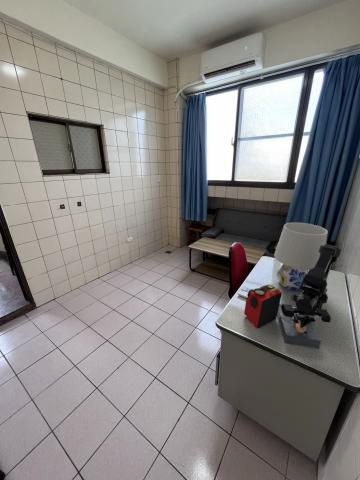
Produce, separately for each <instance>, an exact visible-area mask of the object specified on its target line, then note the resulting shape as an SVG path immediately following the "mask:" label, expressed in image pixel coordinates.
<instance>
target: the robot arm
mask: <svg viewBox="0 0 360 480" xmlns="http://www.w3.org/2000/svg"><path fill="white" fill-rule="evenodd" d="M342 252H343V250H342V249H341V247H339V246H335V245H331V244H328V243H326V244H325V245H324V246H322V245H321V246H320V249H319V253H320V256H319V259H318V261H317V263H316V265H315V267H314V268H312V269H310V270H308V273H307V274H305V276H304V278H303V281H302V283H301V286H300V288H299V289H300V290H299V291H302V293H300V295H298V294H296V293H292V294H291V297H290V298H291V301H292V302H295V306H296V307H297V308H298V309H297V308H292V304H287V303H281V304H282V306H281V309H282V312H283V315H284V316H286V317H293V316H294V313H295V315H296V318H297V319H298V320H299V325H300V328H303V327H304V326H306V325H307V324H309V323H311V322H312V323H313V322H314V323H315V322H316V319H315V317H317V318H320V320H321V322H323V323H331V321H332V316H331V315H330V313H329V311H328V310H327V308H326V309H324V308H323V305H325V304H328V299H329V296H328V294H327V292H328V288H327V286H328V283H327V282H328V278H329V274H330V271H331V268H332V264H334V263H336V262H337V260H338V258H340V257H341V255H342ZM304 282H305V285H307V286H303V285H304Z"/></svg>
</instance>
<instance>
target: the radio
mask: <svg viewBox="0 0 360 480" xmlns="http://www.w3.org/2000/svg"><path fill="white" fill-rule="evenodd" d="M282 295H283V291H281V290H280V288H277V287H275V286H273V285H272V284H266V285H262V286H260V288H259V287H258V288H254V289H250V290H249V291H248V292H247V297H246V299H245V304H244V305H245V306H244V311H243V312H244V313H243V314H244V316H246V317H245V319H246V320H247V321H248V322H249V323H251V325H252V326H253V327H254V328H255V329H256V330H258V329H260V328H262V327H264V326H266V325H268V324H271V322H274V321H275V320H277V313H278V309H279V304H281V300H282Z"/></svg>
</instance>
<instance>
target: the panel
mask: <svg viewBox="0 0 360 480" xmlns="http://www.w3.org/2000/svg"><path fill="white" fill-rule="evenodd" d="M282 304H283V303H280V304H279V309H278V313H277V317H276V320H277V323H278V326H279V328H280V332H281V336H282V339H283V342H284V344H288V345H294V346H300V347H306V348H311V349H317V350H319V348H320V347H321V343H322V339H321V337H320V335H319V333H318V332H317V329H316V327H315V326H314V324H313V322H311V323H309V324H307V325H306V326H305V327H306V331H305V332H304V333H298V332H296V330H295V329H296V327H295V325H296V324H297V323H299V322H295V321H294V320H293V317H286V316H284V315H283V312H282V309H281V306H282ZM291 305H292V304H291ZM292 307H295V308H297V307H296V305H292ZM297 309H298V308H297Z"/></svg>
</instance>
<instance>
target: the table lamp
mask: <svg viewBox="0 0 360 480" xmlns="http://www.w3.org/2000/svg"><path fill="white" fill-rule="evenodd" d="M327 239H328V230H327V229H326V228H324V227H322V226H319V225H316V224H315V225H314V224H311V223H305V222H287V223H285V224H284V225H283V228H282V230H281V234H280V237H279V241H278V242H277V246H276V247H275V248H276V249H275V251H274V255H273V256H274V259H276V260H277V262H279V263H281V264H282V265H281V266H280V267H279V268H278V270H277V273H276V277H277V280H278V283H279V284H280V285H281V286H282V287H283V288H285V289H286V290H287V289H288V290H291V291H295V292H296V291H301V290H300V289H299V288H300V286H301V283H302V281H303V278H304V276H305V274H307V273H308V271H309V270H310V269H312V268H314V267H315V265H316V263H317V261H318V259H319V256H320V253H319V249H320V246H321V245H322V246H324V245H325V244H327ZM303 286H307V285H305V282H304V285H303Z"/></svg>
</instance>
